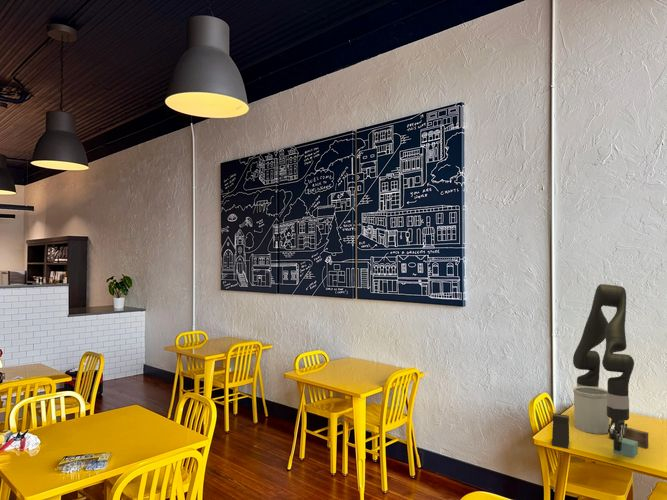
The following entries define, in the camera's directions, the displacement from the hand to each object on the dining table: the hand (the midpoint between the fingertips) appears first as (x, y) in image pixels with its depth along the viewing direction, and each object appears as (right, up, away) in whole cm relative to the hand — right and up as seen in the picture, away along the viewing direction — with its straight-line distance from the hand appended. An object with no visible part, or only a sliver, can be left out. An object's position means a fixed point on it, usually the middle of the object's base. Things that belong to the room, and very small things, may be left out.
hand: (617, 450), depth 183 cm
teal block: (+6, -3, +5) cm, 8 cm away
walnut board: (+14, -4, +16) cm, 21 cm away
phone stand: (-16, -3, +14) cm, 21 cm away
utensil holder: (+7, -4, +32) cm, 33 cm away
